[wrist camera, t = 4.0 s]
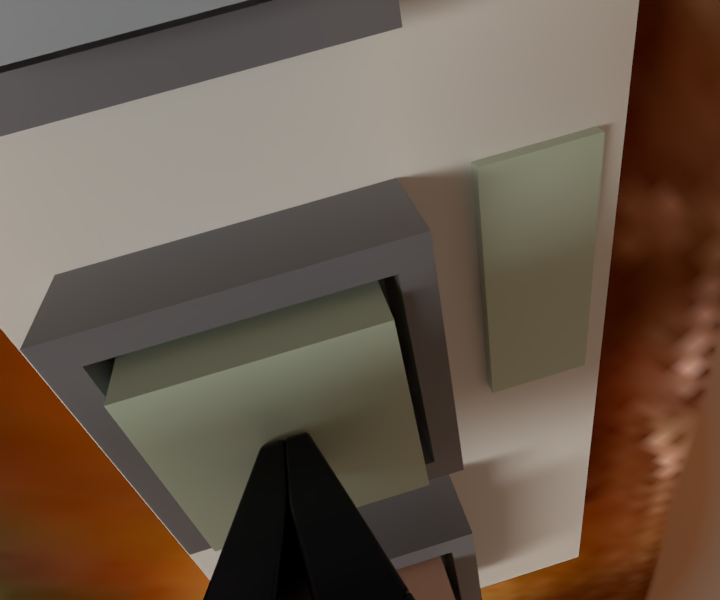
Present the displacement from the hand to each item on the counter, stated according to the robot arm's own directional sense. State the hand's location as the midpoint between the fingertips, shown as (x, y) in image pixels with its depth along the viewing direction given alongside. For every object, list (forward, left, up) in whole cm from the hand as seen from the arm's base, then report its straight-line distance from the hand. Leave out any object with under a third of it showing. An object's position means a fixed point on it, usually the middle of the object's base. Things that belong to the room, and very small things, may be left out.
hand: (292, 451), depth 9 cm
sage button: (0, 0, -3) cm, 3 cm away
